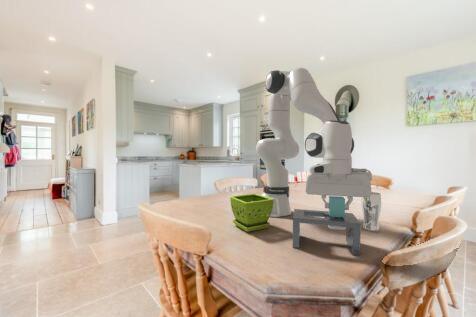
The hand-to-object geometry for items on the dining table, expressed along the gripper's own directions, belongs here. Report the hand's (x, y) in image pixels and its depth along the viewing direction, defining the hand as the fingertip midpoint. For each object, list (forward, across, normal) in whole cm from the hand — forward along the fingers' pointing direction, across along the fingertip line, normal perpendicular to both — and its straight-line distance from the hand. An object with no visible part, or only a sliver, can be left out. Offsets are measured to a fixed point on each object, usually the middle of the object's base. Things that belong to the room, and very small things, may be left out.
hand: (336, 208), depth 74 cm
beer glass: (+13, -16, -22) cm, 30 cm away
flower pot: (+13, +32, -10) cm, 36 cm away
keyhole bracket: (+13, +4, 0) cm, 13 cm away
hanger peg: (+6, 0, 0) cm, 6 cm away
